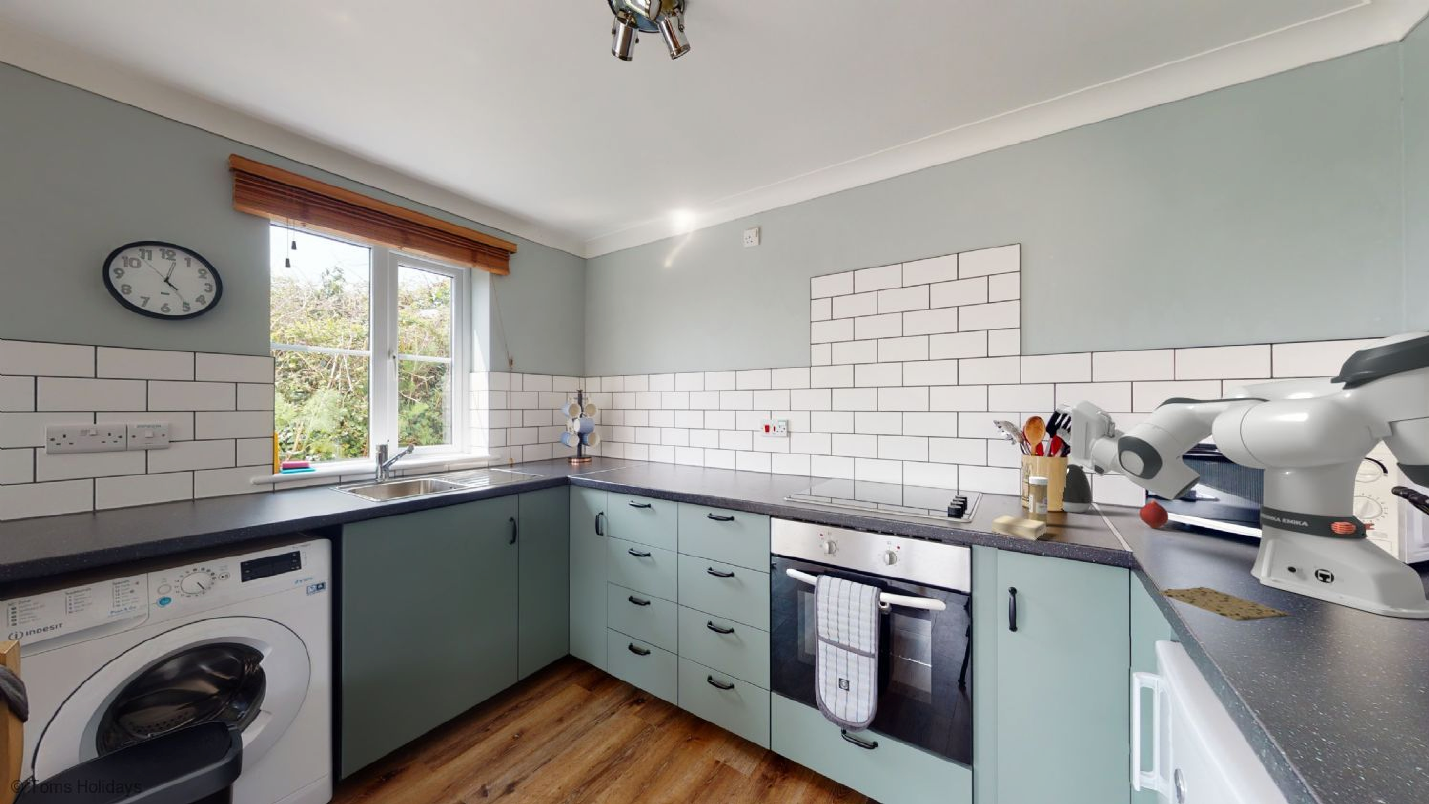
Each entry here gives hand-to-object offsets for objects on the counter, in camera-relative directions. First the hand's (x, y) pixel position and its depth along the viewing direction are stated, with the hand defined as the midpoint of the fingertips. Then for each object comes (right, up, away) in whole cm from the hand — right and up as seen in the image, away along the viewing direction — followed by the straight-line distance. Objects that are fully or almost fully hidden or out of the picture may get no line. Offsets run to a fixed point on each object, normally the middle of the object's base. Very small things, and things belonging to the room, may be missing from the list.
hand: (1058, 419), depth 127 cm
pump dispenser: (+26, -31, +30) cm, 50 cm away
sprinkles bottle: (+3, -31, +12) cm, 33 cm away
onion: (+33, -31, +9) cm, 46 cm away
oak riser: (-9, -30, +3) cm, 32 cm away
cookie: (-2, -31, -43) cm, 53 cm away
